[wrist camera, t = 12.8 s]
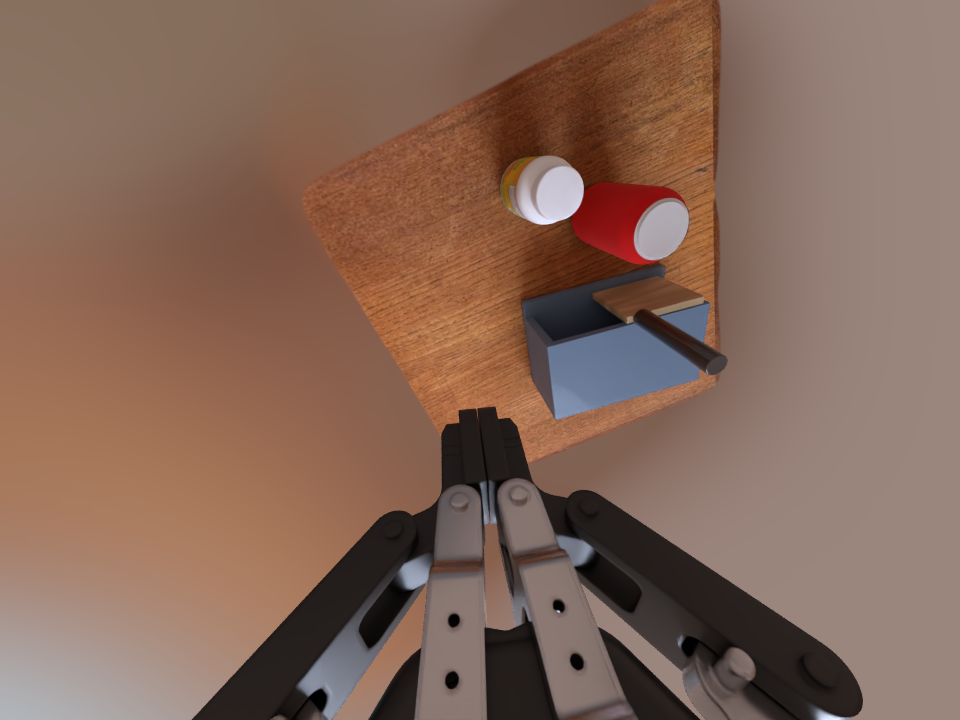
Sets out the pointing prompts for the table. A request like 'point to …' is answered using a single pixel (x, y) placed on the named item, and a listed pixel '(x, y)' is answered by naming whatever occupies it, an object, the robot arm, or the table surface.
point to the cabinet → (602, 348)
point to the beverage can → (632, 221)
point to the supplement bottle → (542, 189)
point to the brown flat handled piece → (655, 299)
